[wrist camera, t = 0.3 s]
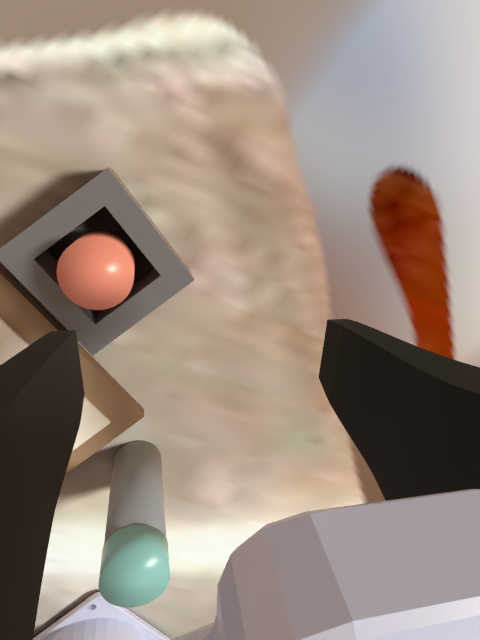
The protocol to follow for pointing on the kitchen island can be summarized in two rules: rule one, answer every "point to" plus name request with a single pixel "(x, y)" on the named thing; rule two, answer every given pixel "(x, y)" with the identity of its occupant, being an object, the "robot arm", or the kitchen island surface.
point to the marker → (135, 529)
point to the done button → (96, 270)
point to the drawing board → (99, 387)
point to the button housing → (41, 268)
